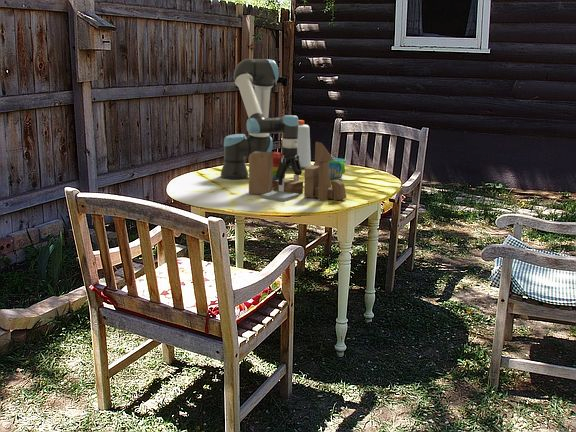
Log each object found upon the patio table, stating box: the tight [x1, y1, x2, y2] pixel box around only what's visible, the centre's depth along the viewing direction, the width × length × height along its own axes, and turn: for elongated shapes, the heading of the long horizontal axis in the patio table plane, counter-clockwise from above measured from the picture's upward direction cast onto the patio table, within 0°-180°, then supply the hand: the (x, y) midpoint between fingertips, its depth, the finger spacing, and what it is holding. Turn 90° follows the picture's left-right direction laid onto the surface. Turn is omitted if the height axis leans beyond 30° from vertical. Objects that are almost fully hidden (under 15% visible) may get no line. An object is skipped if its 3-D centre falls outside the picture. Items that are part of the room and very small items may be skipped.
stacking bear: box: [271, 151, 286, 188], centre depth 348 cm, size 11×10×18 cm
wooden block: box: [248, 151, 273, 196], centre depth 329 cm, size 10×10×20 cm
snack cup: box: [329, 157, 346, 179], centre depth 377 cm, size 16×10×10 cm
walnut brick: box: [273, 178, 304, 195], centre depth 334 cm, size 12×8×6 cm, turn 50°
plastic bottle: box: [288, 119, 312, 169], centre depth 408 cm, size 15×15×28 cm
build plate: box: [261, 190, 300, 202], centre depth 323 cm, size 13×13×2 cm
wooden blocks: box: [303, 141, 348, 202], centre depth 323 cm, size 24×20×28 cm
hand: (288, 189), depth 334 cm, fingers open, 13 cm apart
